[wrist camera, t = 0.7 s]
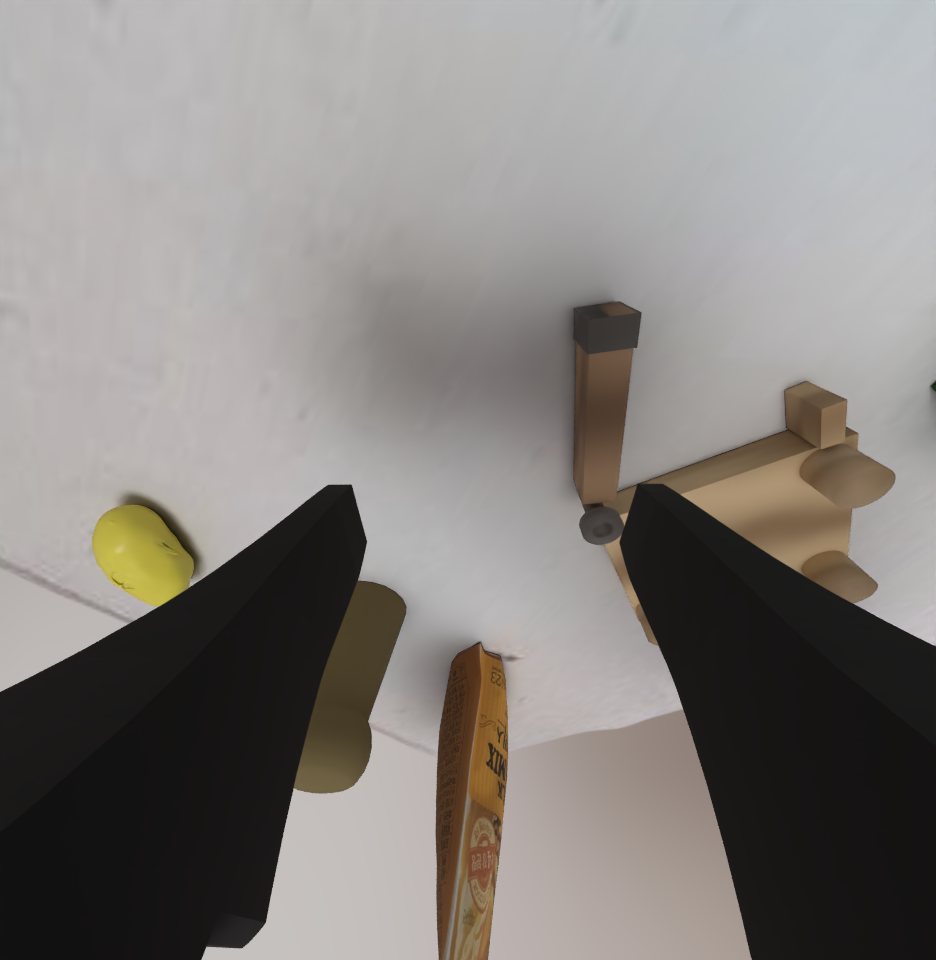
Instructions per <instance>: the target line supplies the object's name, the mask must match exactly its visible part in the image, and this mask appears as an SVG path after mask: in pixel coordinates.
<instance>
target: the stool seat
mask: <svg viewBox="0 0 936 960" xmlns="http://www.w3.org/2000/svg"><path fill="white" fill-rule="evenodd" d="M785 406H786V428H788V429H790V430H787V431H784V432H781V433H779V434H776V435H773V436H770V437H768V438H765V439H762V440H759V441H757V442H754V443H751V444H748V445H746V446H743V447H740V448H737V449H735V450H732V451H729V452H726V453H724V454H721V455H718V456H715V457H713V458H710V459H707V460H704V461H702V462H699V463H696V464H693V465H691V466H688V467H685V468H682V469H680V470H677V471H674V472H671V473H669V474H666V475H663V476H660V477H658V478H655V479H652V480H649V481H647V482H644V483H641V484H664V485H666V486H668V487H669V488H671V489H673V490H674V491H676V492H677V493H679V494H680V495H682V496H683V497H685V498H686V499H688V500H689V501H691V502H692V503H694V504H695V505H697V506H698V507H700V508H701V509H702V510H704V511H705V512H707V513H708V514H710V515H711V516H713V517H714V518H716V519H717V520H718V521H720V522H721V523H723V524H724V525H726V526H727V527H729V528H730V529H732V530H733V531H735V532H736V533H738V534H739V535H741V536H742V537H744V538H745V539H747V540H748V541H750V542H751V543H753V544H754V545H756V546H757V547H759V548H760V549H762V550H764V551H765V552H767V553H768V554H770V555H771V556H773V557H774V558H776V559H778V560H779V561H781V562H783V563H784V564H786V565H787V566H789V567H791V568H792V569H794V570H796V571H797V572H799V573H800V574H802V575H804V576H805V577H807V578H809V579H810V580H812V581H814V582H815V583H817V584H819V585H821V586H822V587H824V588H826V589H828V590H829V591H831V592H833V593H835V594H836V595H838V596H840V597H842V598H844V599H846V600H847V601H849V602H851V603H856V602H859V601H861V600H864V599H866V598H867V597H869V596H871V595H872V594H873V593H874V592H875V591H876V590H877V587H878V584H877V582H876V581H874V580H873V579H872V578H871V577H870V576H869V575H868V574H867V573H865V572H864V571H863V570H862V569H861V568H860V567H859V566H858V565H856V564H855V563H854V562H853V561H852V560H851V559H850V558H848V550H849V538H850V527H851V515H852V508H858V507H862V506H865V505H868V504H870V503H872V502H874V501H876V500H878V499H879V498H881V497H882V496H883V495H885V494H886V493H887V492H888V491H889V490H890V489H891V487H892V486H893V484H894V482H895V474H894V472H893V471H892V470H890V469H889V468H887V467H885V466H883V465H882V464H880V463H878V462H877V461H875V460H873V459H871V458H870V457H868V456H866V455H865V454H863V453H861V452H859V451H858V450H857V445H858V433H857V432H855V431H853V430H851V429H849V428H848V427H846V414H847V399H844V398H842V397H840V396H838V395H836V394H834V393H831V392H829V391H827V390H825V389H823V388H820V387H818V386H816V385H814V384H812V383H810V382H804V383H802V384H799V385H797V386H794V387H792V388H789V389H786V390H785ZM636 487H637V485H636V486H633V487H630V488H627V489H624V490H622V491H619V492H617V497H616V501H614V502H603V503H593V504H582V505H583V508H584V510H585V514H584V515H583V516H582V517H581V519H580V523H579V526H580V529H581V532H582V535H583V538H584V539H585V540H586V541H587V542H589V543H591V544H595V545H603V544H604V545H605V547H606V550H607V552H608V554H609V556H610V558H611V561H612V563H613V565H614V567H615V569H616V572H617V574H618V576H619V578H620V580H621V583H622V585H623V587H624V589H625V591H626V594H627V596H628V598H629V600H630V602H631V605H632V607H633V609H634V611H635V614H636V616H637V618H638V620H639V621H640V622H641V624H642V627H643V629H644V632H645V634H646V637H647V639H648V641H649V642H650V643H652V644H655V645H658V643H657V641H656V639H655V636H654V634H653V632H652V630H651V627H650V625H649V623H648V621H647V618H646V616H645V614H644V612H643V609H642V607H641V605H640V602H639V600H638V598H637V595H636V593H635V591H634V589H633V586H632V584H631V581H630V579H629V576H628V573H627V569H626V566H625V563H624V559H623V555H622V552H621V548H620V544H619V542H620V538H621V535H622V532H623V529H624V526H625V522H626V519H627V516H628V513H629V510H630V507H631V503H632V500H633V497H634V494H635V491H636ZM577 491H578V490H577ZM578 494H579V493H578ZM579 497H580V496H579ZM580 500H581V498H580ZM581 502H582V501H581Z"/></svg>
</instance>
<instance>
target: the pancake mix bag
mask: <svg viewBox="0 0 936 960" xmlns="http://www.w3.org/2000/svg"><path fill="white" fill-rule="evenodd" d="M507 764H508V716H507V701H506V680H505V676H504V671H503V667H502V662H501V658H500V656H498V655H495V654H491V653H488V652H485V651H484V649H483V647H482V646H481V644H480V643H479V644H477V645H475V646H473V647H470V648H468V649H466V650H464V651H462V652H460V653H458V654H457V656H456V657H455V659H454V660H453V661H452V665H451V670H450V675H449V680H448V685H447V690H446V696H445V702H444V708H443V713H442V719H441V725H440V731H439V745H438V763H437V795H436V854H437V931H438V951H439V960H488V953H489V944H490V934H491V925H492V915H493V905H494V896H495V888H496V879H497V871H498V864H499V854H500V845H501V835H502V824H503V823H502V822H503V813H504V802H505V792H506V782H507Z"/></svg>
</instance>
